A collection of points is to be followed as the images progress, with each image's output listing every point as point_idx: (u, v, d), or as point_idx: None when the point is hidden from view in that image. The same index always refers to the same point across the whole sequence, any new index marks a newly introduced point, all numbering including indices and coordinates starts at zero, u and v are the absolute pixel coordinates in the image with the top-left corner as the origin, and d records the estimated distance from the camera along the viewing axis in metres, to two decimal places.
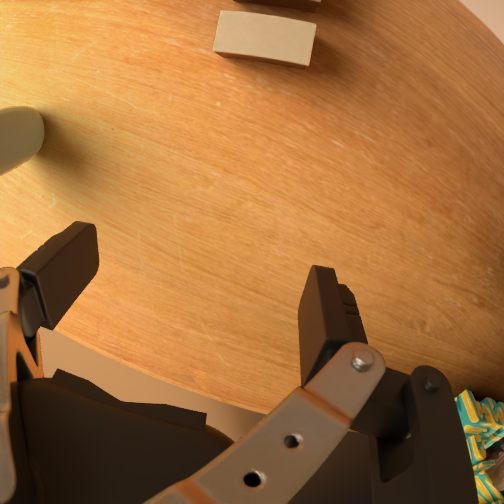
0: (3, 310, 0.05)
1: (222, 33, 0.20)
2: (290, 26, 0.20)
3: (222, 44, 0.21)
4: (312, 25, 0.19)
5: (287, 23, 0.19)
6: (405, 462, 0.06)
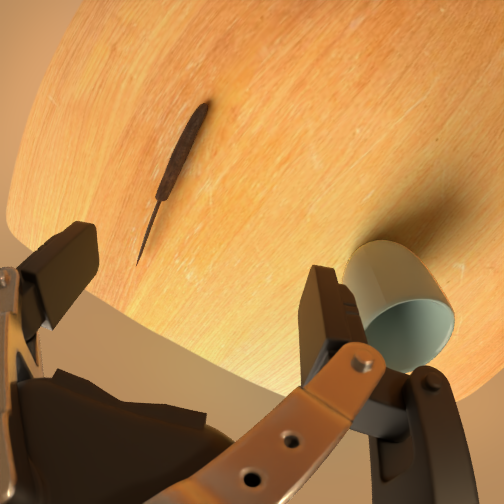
0: (3, 310, 0.05)
1: None
2: None
3: None
4: None
5: None
6: (405, 462, 0.06)
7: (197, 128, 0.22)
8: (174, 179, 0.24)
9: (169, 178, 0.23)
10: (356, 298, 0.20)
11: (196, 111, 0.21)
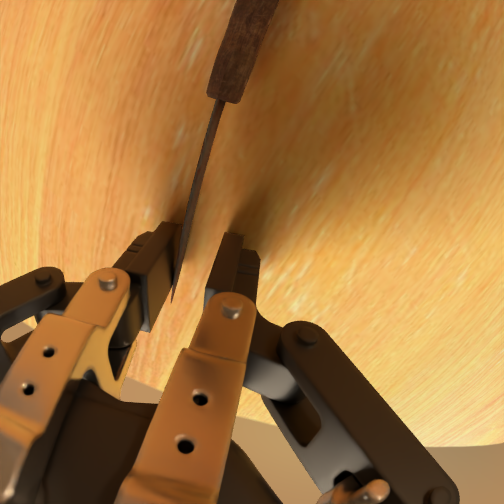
0: (94, 317, 0.06)
1: None
2: None
3: None
4: None
5: None
6: (316, 418, 0.07)
7: None
8: (260, 38, 0.07)
9: (248, 29, 0.06)
10: None
11: None
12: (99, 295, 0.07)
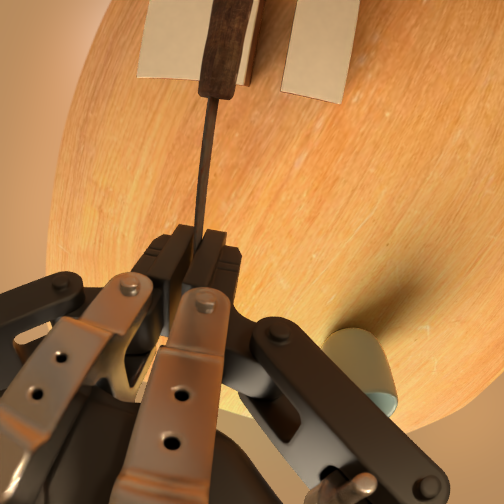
0: (112, 323, 0.06)
1: (317, 90, 0.17)
2: (307, 12, 0.15)
3: (333, 91, 0.17)
4: None
5: (303, 15, 0.15)
6: (295, 414, 0.07)
7: None
8: (242, 32, 0.07)
9: (228, 24, 0.06)
10: None
11: None
12: (119, 301, 0.07)
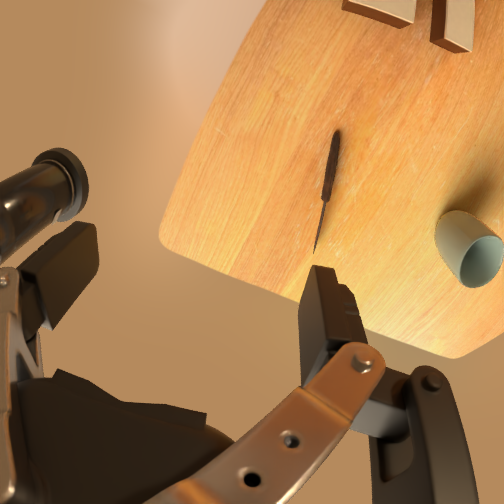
0: (3, 310, 0.05)
1: (462, 41, 0.22)
2: (454, 1, 0.19)
3: (468, 44, 0.22)
4: None
5: (452, 1, 0.19)
6: (405, 462, 0.06)
7: (338, 149, 0.34)
8: None
9: (330, 185, 0.35)
10: (453, 243, 0.31)
11: (334, 138, 0.33)
12: None
